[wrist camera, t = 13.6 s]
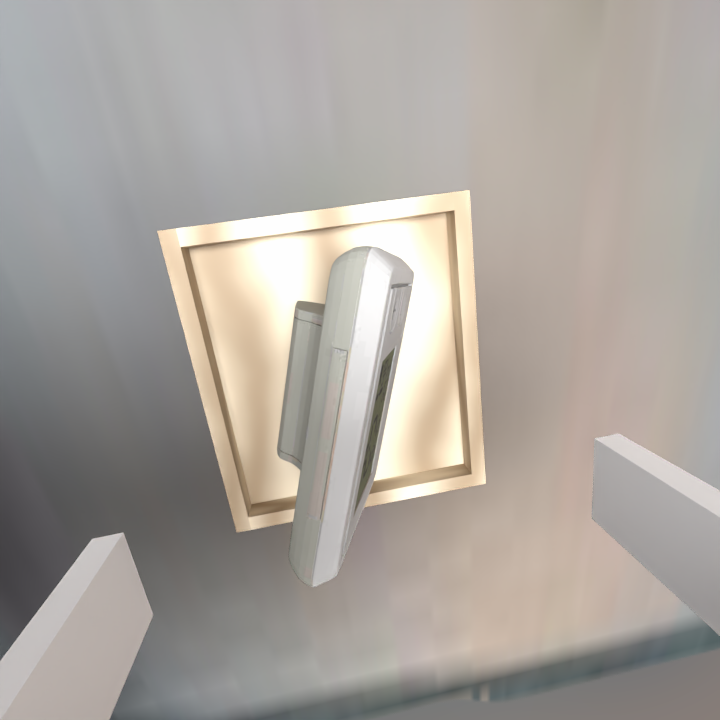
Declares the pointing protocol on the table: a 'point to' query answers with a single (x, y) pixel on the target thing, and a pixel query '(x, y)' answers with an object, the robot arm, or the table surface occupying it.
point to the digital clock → (340, 401)
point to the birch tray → (309, 283)
